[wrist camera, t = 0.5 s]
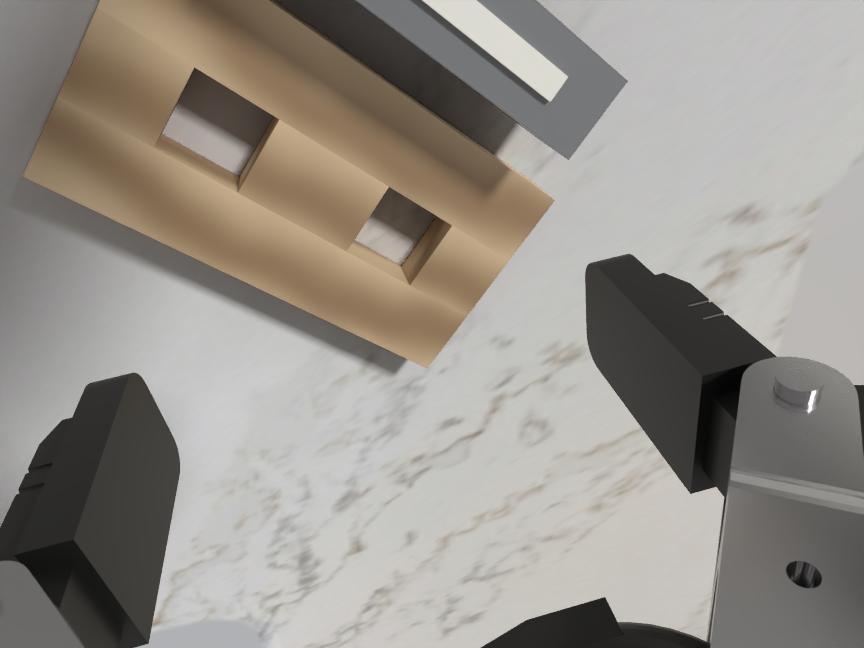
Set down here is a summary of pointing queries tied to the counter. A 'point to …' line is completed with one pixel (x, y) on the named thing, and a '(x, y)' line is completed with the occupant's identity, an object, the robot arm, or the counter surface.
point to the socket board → (285, 168)
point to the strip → (512, 61)
